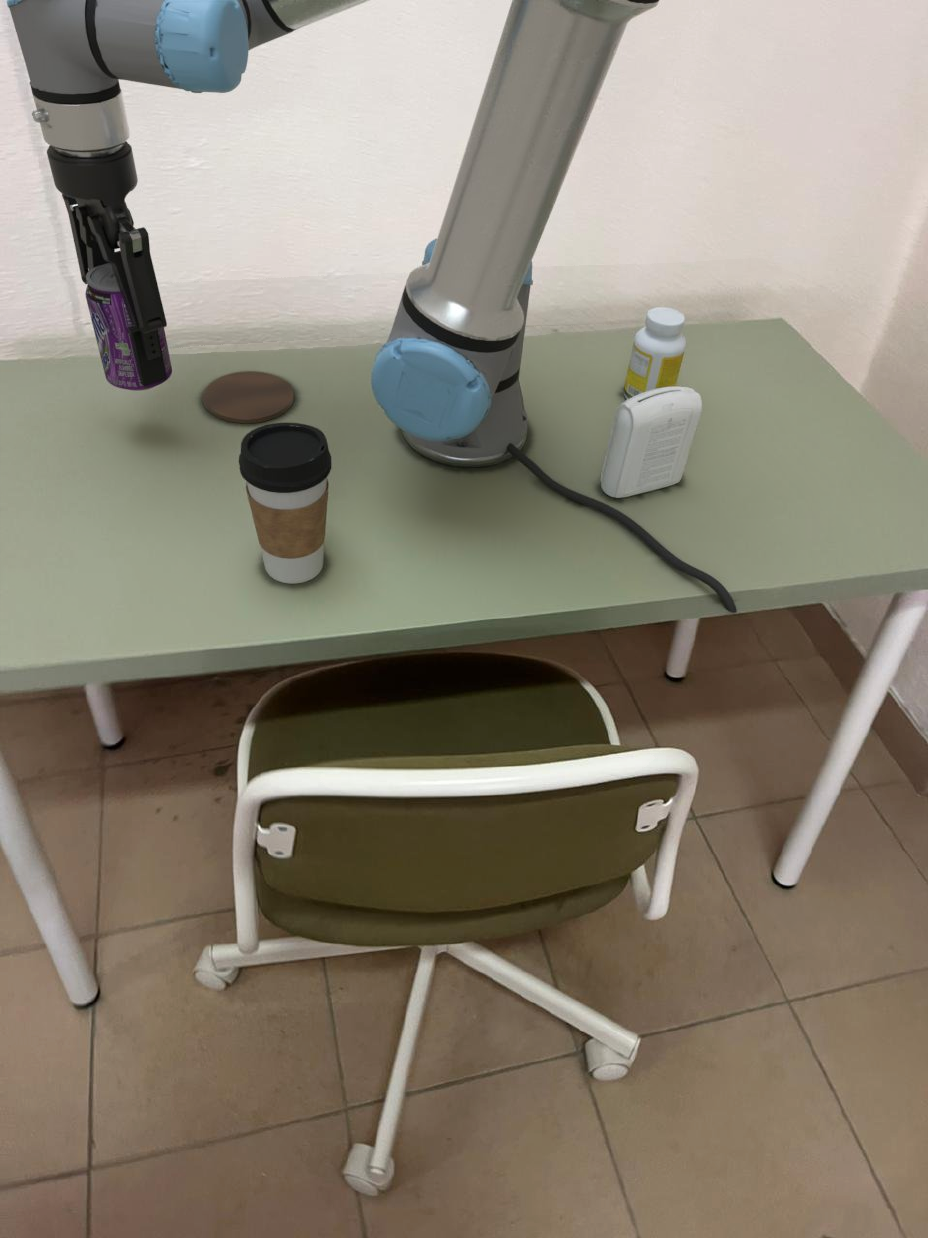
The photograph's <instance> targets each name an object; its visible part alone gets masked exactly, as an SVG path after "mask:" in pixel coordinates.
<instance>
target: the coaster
mask: <svg viewBox="0 0 928 1238" xmlns="http://www.w3.org/2000/svg"><path fill="white" fill-rule="evenodd" d="M294 396H295V395H294V389H293V388H292V385H291V384H290V383H288V381H286V380H285V379H284V378H282V377H280V376H277V375H275V374H272V373H268V372H263V371H252V370H251V371H250V370H247V371H238V372H233V373H229V374H225V375H223V376H222V375H221V376H220V377H217V378H215V379H214V380H213V381H210V383H209V384H208V385H207V386H206V387H205V389H204V391H203V393H202V401H203V405H204V407H205V408H206V410H207V411H208V412H209V413H210V414H211V415H213V416H214V417H216V418H218V419H220V420H224V421H227V422H231V423H237V424H256V423H262V422H266V421H271V420H273V419H276V418H278V417H280V416H281V415H283V414H285V413H286V412H287V411H288V410H289V409H290V408H291V407H292V405H293V403H294Z"/></svg>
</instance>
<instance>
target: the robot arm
mask: <svg viewBox="0 0 928 1238" xmlns="http://www.w3.org/2000/svg"><path fill="white" fill-rule="evenodd" d="M369 1H370V2H371V0H6V5H7V8H9V11H10V15H11V19H12V22H13V25H14V29H15V32H16V36H17V39H18V43H19V46H20V50H21V53H22V56H23V61H24V63H25V67H26V71H27V75H28V79H29V81H30V82H29V85H30V90H31V94H32V98H33V101H34V104H35V108H36V110H32V111H31V116H32V119H33V121H35V123H39V125H40V126H39V127H40V128H41V133H42V134H41V135H42V137H43V140H44V142H45V143H47V144H48V145H49V146H48V147H47V150H46V155H47V159H48V163H49V167H50V172H51V175H52V179H53V183H54V186H55V188H56V190H57V191H58V192H60V193H61V197H62V199H63V202H64V205H65V208H66V211H67V213H68V219H69V224H70V229H71V233H72V238H73V244H74V248H75V252H76V257H77V258H76V259H77V262H78V267H79V271H80V278H81V281H82V282H83V284H85V285H88V283H87V280H86V274H87V273H88V272H89V271H90V270H91V269H92V268H94V267H96V266H100V265H103V264H107V263H110V264H111V266H112V269H113V272H114V275H115V277H116V280H117V283H118V286H119V289H120V292H121V295H122V298H123V300H124V303H125V306H126V309H127V312H128V315H129V318H130V320H131V323H132V326H131V327H127V328H126V330H127V332H128V333H129V334H130V336H131V341H132V345H133V350H134V355H135V359H136V364H137V368H138V373H139V377H140V382H141V384H142V385H143V386H144V387H145V386H148V385H151V384H154V383H157V382H160V381H163V380H166V379H167V375H166V370H165V365H164V360H163V355H162V350H161V345H160V340H159V335H158V330H157V329H160V328H164V329H165V328H166V327H167V326H168V321H167V318H166V315H165V310H164V306H163V301H162V297H161V293H160V289H159V285H158V280H157V276H156V273H155V267H154V263H153V260H152V255H151V248H150V237H149V236H150V235H149V232H148V231H147V229H146V228H145V227H139V228H135V226H134V224H135V222H134V219H133V216H132V213H131V211H130V209H129V208H128V205H127V202H126V197H127V195H128V194H130V192H132V191H134V189H135V188H136V187H137V185H138V182H139V179H138V175H137V169H136V163H135V158H134V153H133V148H132V145H131V144H130V143H128V140H129V139H130V133H131V132H130V128H129V124H128V123H129V122H128V117H127V113H126V112H127V111H126V106H125V102H124V96H123V91H122V88H121V85H120V80H121V81H128V82H135V83H139V84H140V83H141V84H148V85H153V86H158V87H167V88H171V89H178V90H182V91H186V92H191V93H193V94H202V93H218V94H226V93H230V92H232V91H234V90H235V89H236V88H237V87H238V86H239V85H240V83H241V81H242V76H243V75H244V74H245V73H246V71H247V65H248V60H249V51H251V50H253V49H255V48H257V47H259V46H262V45H264V44H266V43H268V42H269V43H270V42H272V41H274V40H276V39H278V38H282V37H284V36H286V35H289V34H291V33H293V32H294V31H297V30H300V29H301V28H304V27H307V26H309V25H312V24H314V23H317V22H319V21H321V20H325V19H327V18H329V17H332V16H334V15H337V14H340V13H341V12H344V11H347V10H349V9H352V8H354V7H357V6H359V5H362V4H364V3H367V2H369ZM659 3H660V0H511V3H510V7H509V10H508V14H507V16H506V20H505V22H504V25H503V28H502V31H501V35H500V38H499V41H498V44H497V48H496V51H495V54H494V57H493V60H492V63H491V67H490V70H489V73H488V75H487V76H488V77H487V80H486V82H485V86H484V89H483V92H482V95H481V98H480V102H479V104H478V107H477V110H476V114H475V117H474V120H473V124H472V126H471V130H470V133H469V136H468V138H467V139H468V140H467V142H466V146H465V149H464V152H463V156H462V158H461V162H460V165H459V168H458V172H457V175H456V177H455V181H454V184H453V187H452V190H451V194H450V196H449V200H448V203H447V206H446V210H445V213H444V216H443V220H442V222H441V225H440V229H439V231H438V234H437V237H436V238H435V239H433V240H431V241H430V242H429V243H428V244H427V245H426V247H425V249H424V255H423V260H422V261H421V265H419V266H417V267H416V268H414V269H413V270H411V272H410V273H409V275H408V277H407V279H406V282H405V285H404V288H403V291H402V294H401V297H400V300H399V305H398V307H397V311H396V315H395V317H394V320H393V324H392V327H391V331H390V333H389V336H388V337H387V340H386V342H385V344H384V345H381V348H380V349H379V350H378V352H377V353H376V355H375V358H374V364H373V366H372V368H371V373H370V374H371V375H370V384H371V390H372V393H373V396H374V399H375V401H376V403H377V404H378V406H380V407H381V409H382V410H383V414H384V415H385V416H386V418H387V419H389V421H391V422H392V424H394V425H395V426H396V427H398V428H399V429H401V430H402V434H403V437H404V439H405V441H406V442H407V443H408V445H409V446H410V447H411V448H412V449H413V450H415V452H417V453H418V454H420V455H422V456H423V457H425V458H428V459H429V460H432V461H434V462H437V463H440V464H443V465H448V466H453V467H459V468H460V467H461V468H481V467H488V466H493V465H496V464H500V463H503V462H505V461H507V460H510V459H511V458H513V457H514V458H515V459H516V460H517V461H519V462H520V463H521V464H522V465H523V466H524V467H526V468H527V469H528V470H529V471H530V472H531V473H532V474H533V475H534V476H535V477H536V478H537V479H538V480H539V481H540V482H541V483H542V484H544V485H545V486H546V487H548V488H549V489H551V490H552V491H554V492H555V493H558V494H559V495H560V496H563V497H565V498H567V499H570V500H572V501H574V502H577V503H579V504H582V505H584V506H587V507H589V508H592V509H594V510H597V511H598V512H601V513H603V514H605V515H607V516H609V517H611V518H613V519H614V520H615V521H617V522H618V523H621V524H622V525H623V526H624V527H626V528H627V529H629V530H630V531H631V532H632V533H633V534H635V535H636V536H637V537H638V538H639V539H640V540H642V541H643V542H644V543H645V544H646V545H647V546H648V547H649V548H650V549H652V550H653V551H654V552H655V553H656V554H658V556H659V557H660V558H662V559H663V560H664V561H666V562H667V563H668V564H669V565H671V566H672V567H673V568H675V569H676V570H678V571H680V572H682V573H684V574H685V575H688V576H690V577H692V578H694V579H696V580H697V581H700V582H701V583H703V584H705V585H706V586H708V587H710V588H711V590H713V591H714V592H715V594H716V595H717V596H718V597H719V599H720V600H721V602H722V604H723V605H724V608H725V609H726V610H727V611H728V612H729V613H733V614H736V613H737V612H738V611H737V609H738V608H737V606H736V603H735V601H734V599H733V597H732V595H731V594H730V592H729V591H728V590H727V589H726V587H725V586H724V585H723V584H722V582H720V581H719V580H717V578H715V577H713V576H712V575H710V574H709V573H707V572H705V571H703V570H700V569H699V568H696V567H694V566H693V565H691V564H689V563H686V562H685V561H683V560H681V558H679V557H677V556H676V555H674V553H672V552H671V551H669V549H667V548H666V547H665V546H664V545H662V543H660V542H659V541H658V540H657V539H656V538H655V537H654V536H652V535H651V534H650V533H649V532H648V531H647V530H646V529H645V528H643V526H641V525H640V524H639V523H637V522H636V521H635V520H633V519H632V518H630V517H629V516H628V515H626V514H624V512H622V511H620V510H618V509H616V508H615V507H613V506H611V505H608V504H606V503H604V502H602V501H600V500H597V499H595V498H592V497H590V496H588V495H585V494H582V493H580V492H577V491H574V490H572V489H570V488H568V487H566V486H564V485H562V484H561V483H560V482H557V481H556V480H554V479H553V478H552V477H550V475H548V473H546V472H544V470H543V469H542V468H541V467H540V466H538V464H537V463H535V461H533V460H532V459H531V458H530V457H529V456H527V454H525V453H524V452H523V451H521V450H522V449H523V447H524V446H525V444H526V440H527V435H528V415H527V411H526V408H525V403H524V397H523V392H522V388H521V383H520V372H521V364H522V359H523V358H522V357H523V356H522V355H523V348H524V340H525V333H526V325H527V317H528V309H529V300H530V293H531V286H533V284H534V280H533V279H532V278H533V258H534V256H535V255H536V251H537V248H538V246H539V243H540V241H541V239H542V236H543V234H544V231H545V229H546V226H547V224H548V221H549V219H550V216H551V214H552V212H553V209H554V206H555V204H556V202H557V199H558V196H559V194H560V191H561V188H562V187H563V184H564V182H565V179H566V177H567V175H568V173H569V170H570V167H571V164H572V162H573V159H574V157H575V154H576V152H577V151H578V150H577V149H578V147H579V145H580V142H581V140H582V137H583V135H584V133H585V129H586V127H587V125H588V123H589V120H590V118H591V114H592V112H593V110H594V107H595V105H596V103H597V100H598V98H599V96H600V93H601V90H602V88H603V85H604V83H605V80H606V78H607V76H608V73H609V70H610V68H611V65H612V63H613V61H614V58H615V55H616V54H617V51H618V48H619V45H620V43H621V40H622V38H623V36H624V33H625V31H626V28H627V26H628V23H629V22H630V21H631V20H632V19H635V18H637V17H638V16H640V15H642V14H644V13H646V12H648V11H651V10H652V9H654V8H656V7H657V6H658V4H659ZM118 249H119V250H118ZM116 250H118V251H116ZM167 380H168V379H167ZM167 380H166V381H167Z"/></svg>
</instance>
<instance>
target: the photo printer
mask: <svg viewBox="0 0 928 1238" xmlns="http://www.w3.org/2000/svg"><path fill="white" fill-rule="evenodd" d="M702 413H703V402H702V397H701V395H700V393H698V392H696V391H695V390H694V388H691V387H687V386H678V385H676V386H675V387H663V388H658V389H653V390H650V391H647V392H644V393H641V394H638V395H636V396H634V397H632V398H630V399H628V400H627V399H626V400H624V401H623V402H621V403H620V404H619V405H618V406H617V408H616V410H615V412H614V416H613V420H612V425H611V429H610V433H609V437H608V441H607V446H606V451H605V454H604V459H603V463H602V468H601V473H600V479H599V481H600V482H601V483H600V487H601V490H602V491H603V492H604V493H605V494H606V495H608V496H609V497H610V498H611V497H612V498H616V499H621V498H627V497H631V496H637V495H639V494H644V493H648V492H651V491H655V490H659V489H663V488H666V487H670V486H673V485H676V484H678V483H680V481H681V480H682V478H683V476H684V472H685V469H686V466H687V465H686V464H687V461H688V458H689V455H690V452H691V448H692V445H693V442H694V439H695V436H696V432H697V429H698V426H699V423H700V419H701V416H702Z"/></svg>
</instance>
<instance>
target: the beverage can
mask: <svg viewBox="0 0 928 1238" xmlns="http://www.w3.org/2000/svg"><path fill="white" fill-rule="evenodd" d="M88 271H89V270H88ZM86 280H87V283H88V284H86V290H85V294H84V295H85V299H86V302H87V303H86V304H87V309H88V313H89V315H90V319H91V325H92V328H93V332H94V336H95V340H96V345H97V348H98V352H99V356H100V360H101V364H102V368H103V372H104V376H105V379H106V381H107V382H108V383H109V384H110V385H111V386H113V387H115V388H119V389H122V390H127V391H137V392H138V391H139V392H140V391H146V390H150V389H153V388H155V387H157V386H160V385H162V384H163V383H165V382H166V381H168V380H169V379H170V377H172V374H173V367H172V361H171V356H170V352H169V346H168V341H167V336H166V330H165V327H164V328H160V329H157V330H158V335H159V340H160V345H161V350H162V355H163V360H164V365H165V370H166V375H167V379H166V380H163V381H160V382H157V383H154V384H151V385H148V386H145V387H144V386H143V385H142V384H141V382H140V377H139V373H138V368H137V364H136V359H135V355H134V350H133V345H132V341H131V336H130V334H129V333H128V332H127V330H126V328H127V327H131V326H132V323H131V320H130V318H129V315H128V312H127V309H126V306H125V303H124V300H123V298H122V295H121V292H120V289H119V286H118V283H117V280H116V277H115V275H114V272H113V269H112V266H111V264H110V263H107V264H103V265H100V266H96V267H94V268H92V269H91V270H90V271H89V272H88V273H87V274H86Z"/></svg>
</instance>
